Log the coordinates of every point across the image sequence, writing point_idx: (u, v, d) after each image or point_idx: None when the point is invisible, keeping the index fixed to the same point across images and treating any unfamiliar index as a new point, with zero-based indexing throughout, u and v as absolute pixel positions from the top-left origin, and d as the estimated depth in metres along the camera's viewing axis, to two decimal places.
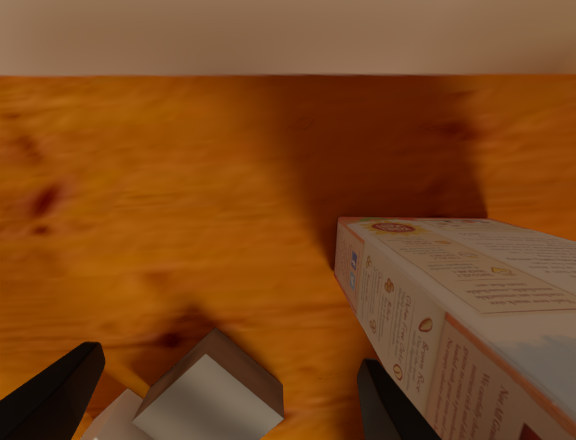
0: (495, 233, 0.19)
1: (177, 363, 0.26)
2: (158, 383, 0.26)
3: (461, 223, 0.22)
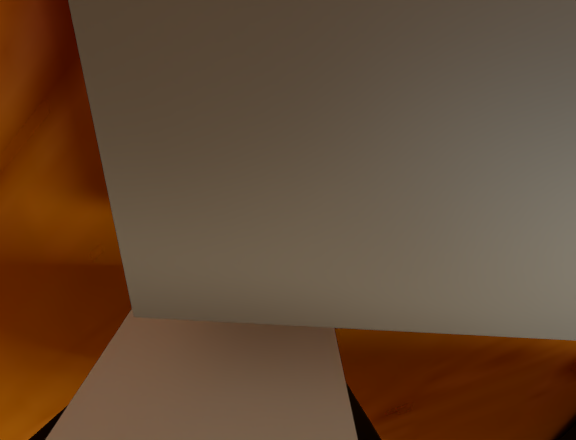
0: None
1: None
2: None
3: None
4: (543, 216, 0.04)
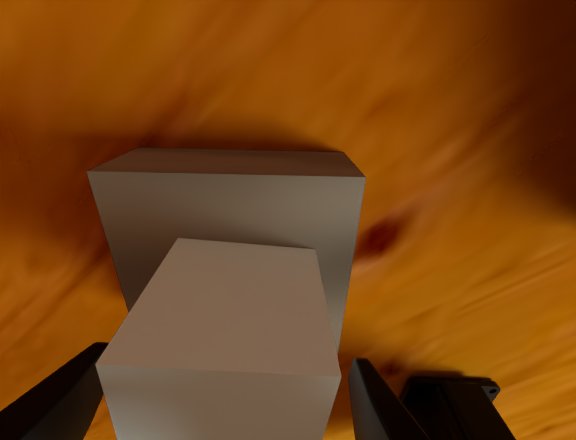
0: None
1: None
2: None
3: None
4: None
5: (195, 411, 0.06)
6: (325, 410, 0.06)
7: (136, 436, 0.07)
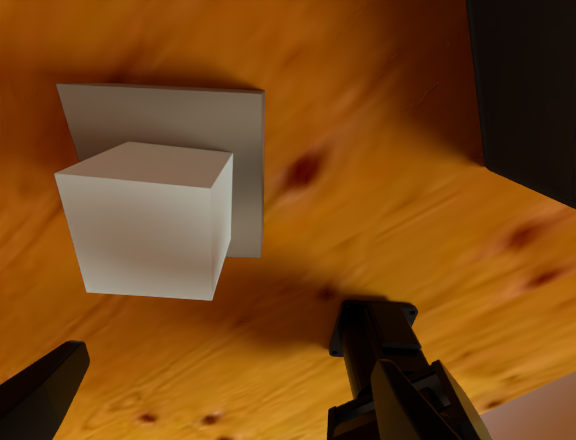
0: None
1: None
2: None
3: None
4: None
5: (122, 218, 0.10)
6: (207, 221, 0.10)
7: (86, 242, 0.10)
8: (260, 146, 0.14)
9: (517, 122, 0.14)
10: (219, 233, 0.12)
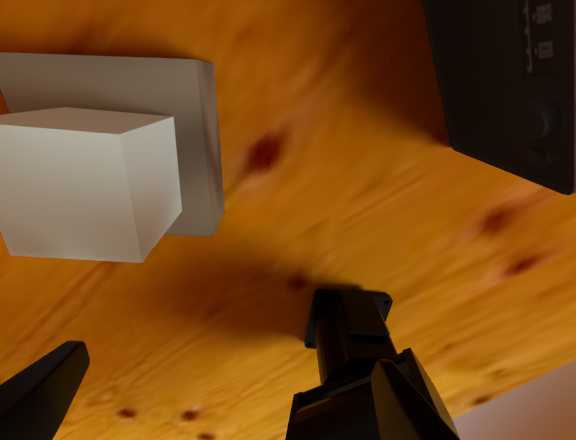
0: None
1: None
2: None
3: None
4: None
5: (32, 171, 0.09)
6: (121, 171, 0.09)
7: None
8: (201, 116, 0.14)
9: (471, 94, 0.14)
10: (151, 194, 0.12)
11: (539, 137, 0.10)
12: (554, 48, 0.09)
